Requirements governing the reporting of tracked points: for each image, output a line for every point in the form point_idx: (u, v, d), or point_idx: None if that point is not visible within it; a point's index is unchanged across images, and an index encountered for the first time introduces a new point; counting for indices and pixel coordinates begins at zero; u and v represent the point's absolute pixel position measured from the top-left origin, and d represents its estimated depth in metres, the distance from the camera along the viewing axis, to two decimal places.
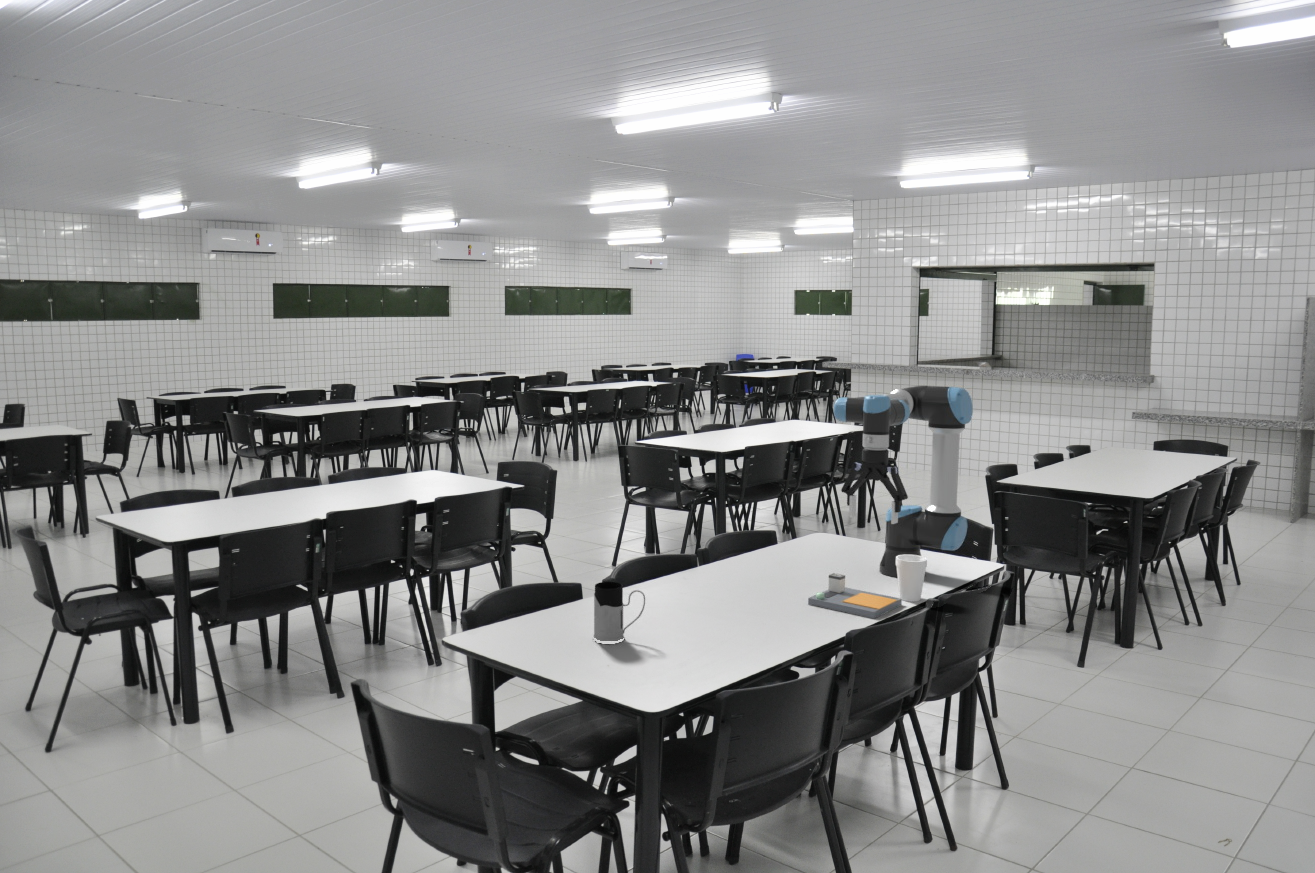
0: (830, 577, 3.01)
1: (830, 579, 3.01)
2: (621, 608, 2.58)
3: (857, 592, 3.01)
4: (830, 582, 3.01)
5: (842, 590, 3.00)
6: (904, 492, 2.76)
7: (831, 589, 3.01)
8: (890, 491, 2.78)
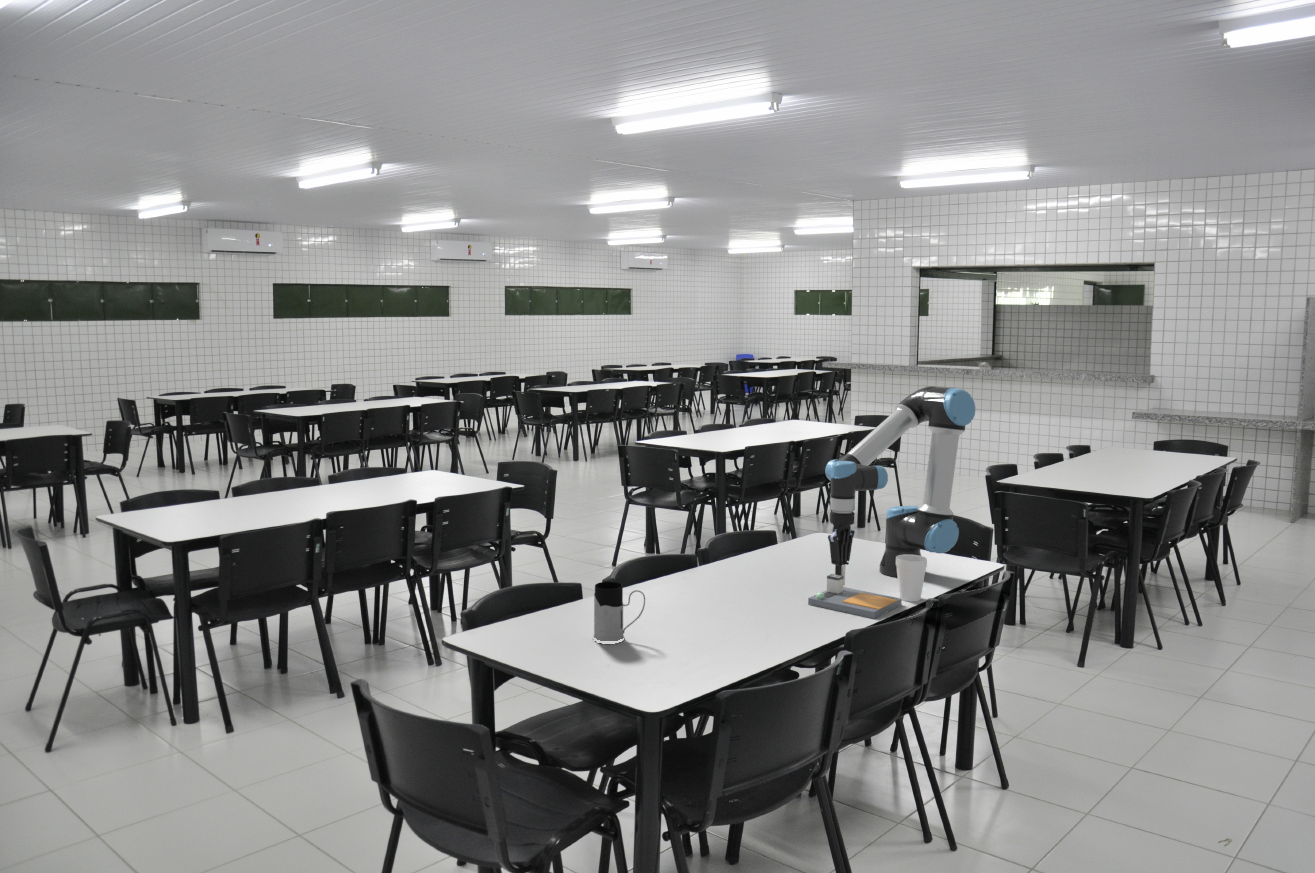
0: (828, 578, 3.00)
1: (828, 580, 3.00)
2: (621, 608, 2.58)
3: (857, 592, 3.01)
4: (828, 583, 3.00)
5: (840, 591, 2.99)
6: (835, 559, 2.99)
7: (829, 590, 3.00)
8: None
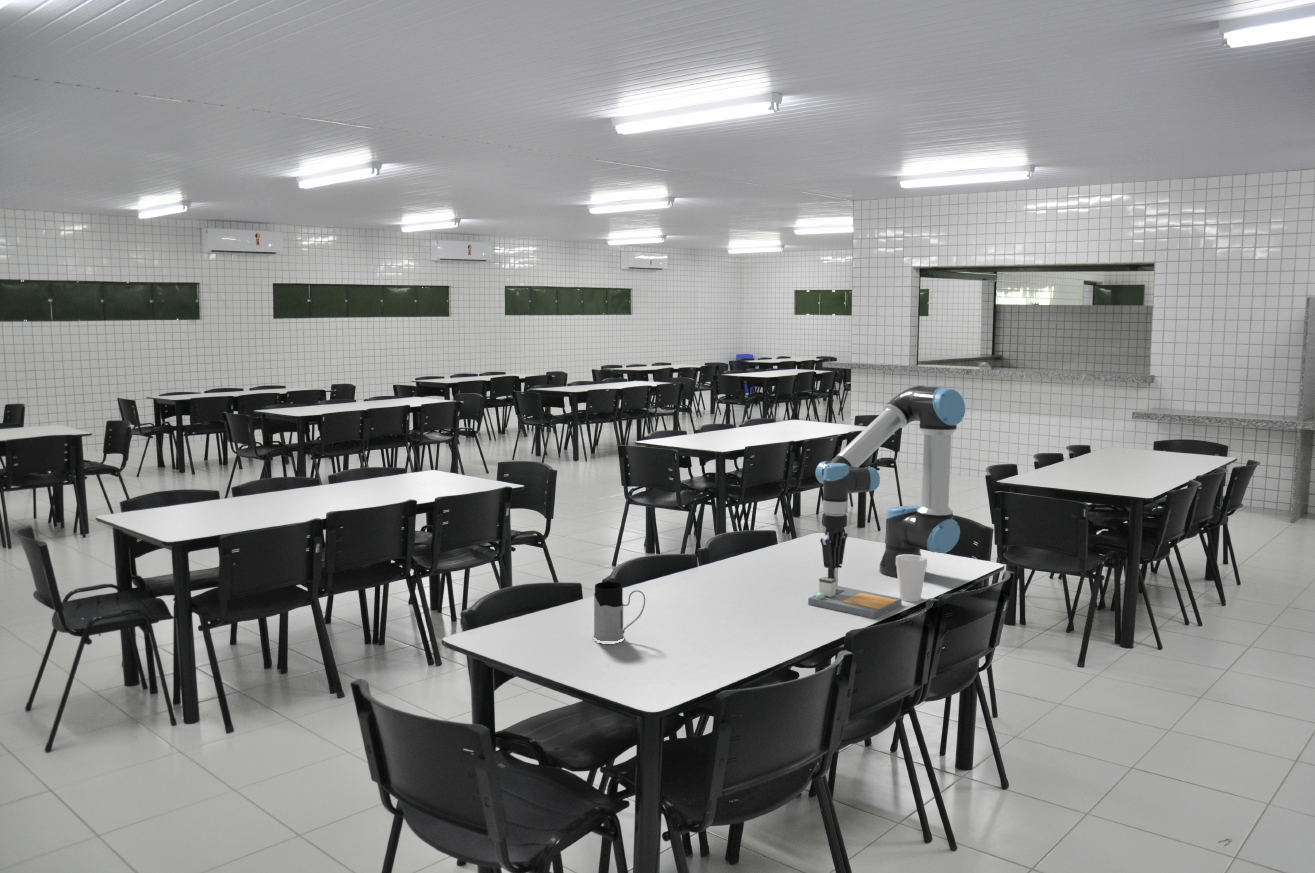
0: (820, 581, 2.96)
1: (820, 583, 2.96)
2: (621, 608, 2.58)
3: (857, 592, 3.01)
4: (820, 586, 2.96)
5: (833, 594, 2.96)
6: (827, 562, 2.95)
7: None
8: None
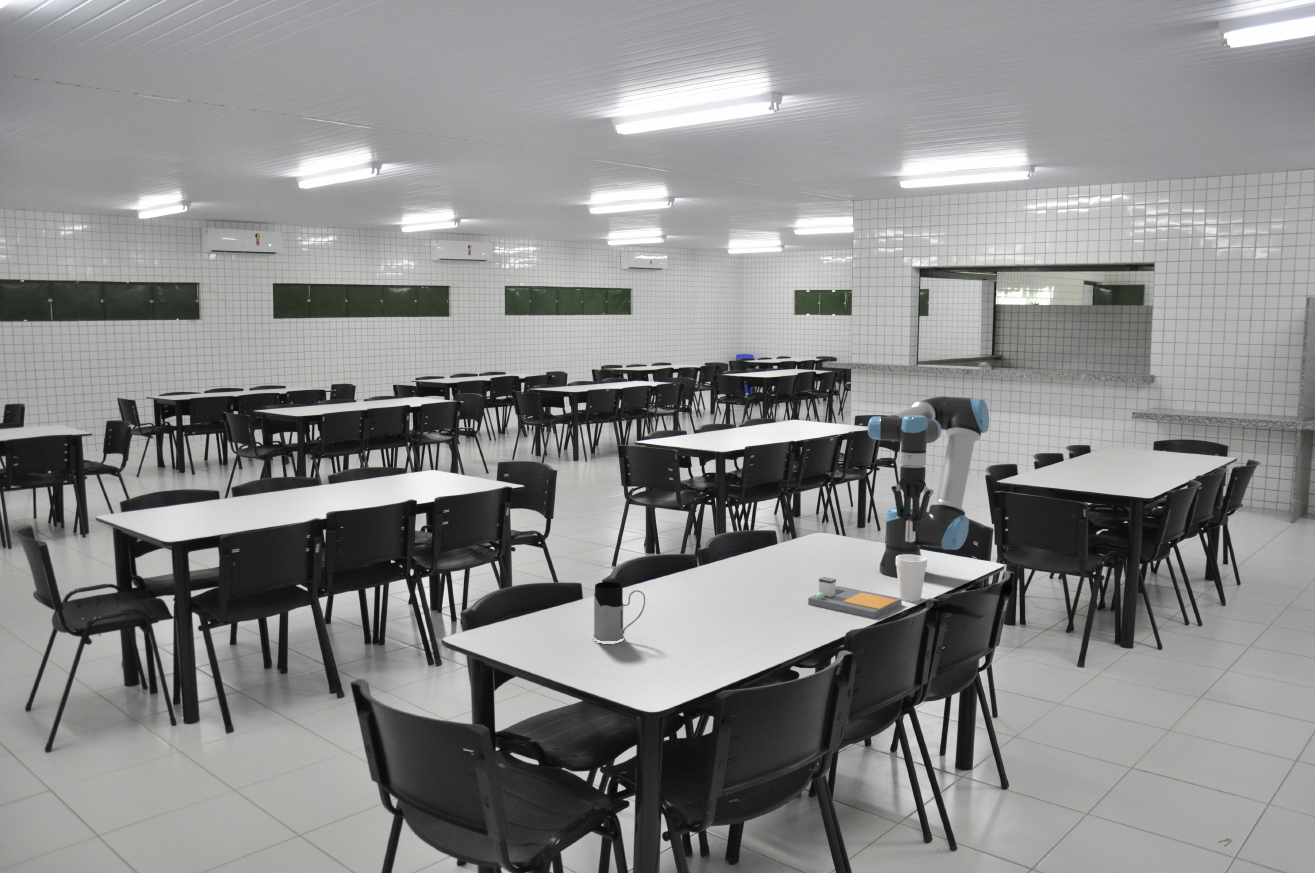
0: (820, 581, 2.96)
1: (820, 583, 2.96)
2: (621, 608, 2.58)
3: (857, 592, 3.01)
4: (820, 586, 2.96)
5: (833, 594, 2.96)
6: (924, 514, 2.95)
7: None
8: (913, 510, 2.96)
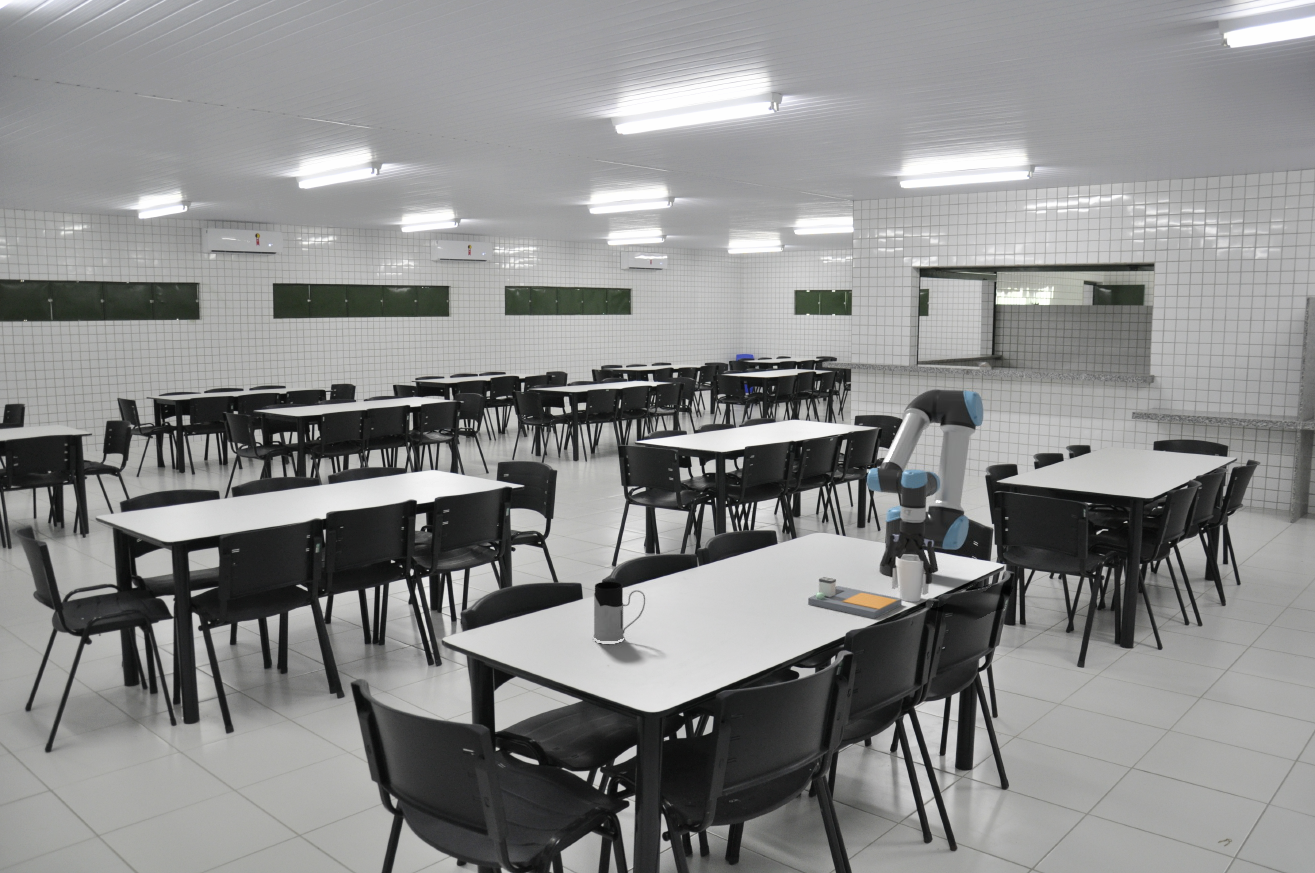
0: (820, 581, 2.96)
1: (820, 583, 2.96)
2: (621, 608, 2.58)
3: (857, 592, 3.01)
4: (820, 586, 2.96)
5: (833, 594, 2.96)
6: (935, 565, 2.95)
7: None
8: (923, 563, 2.96)
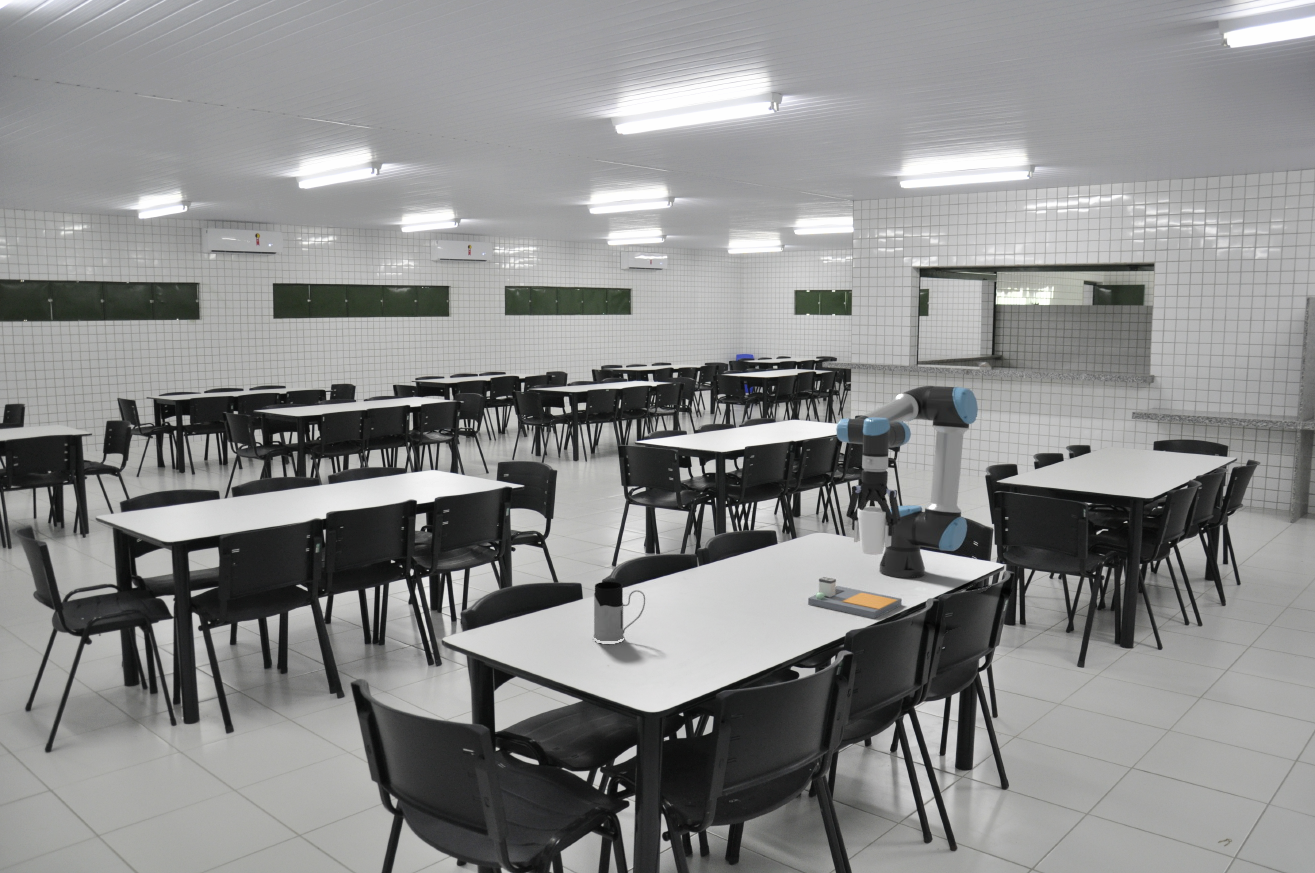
0: (820, 581, 2.96)
1: (820, 583, 2.96)
2: (621, 608, 2.58)
3: (857, 592, 3.01)
4: (820, 586, 2.96)
5: (833, 594, 2.96)
6: (898, 516, 2.83)
7: None
8: None
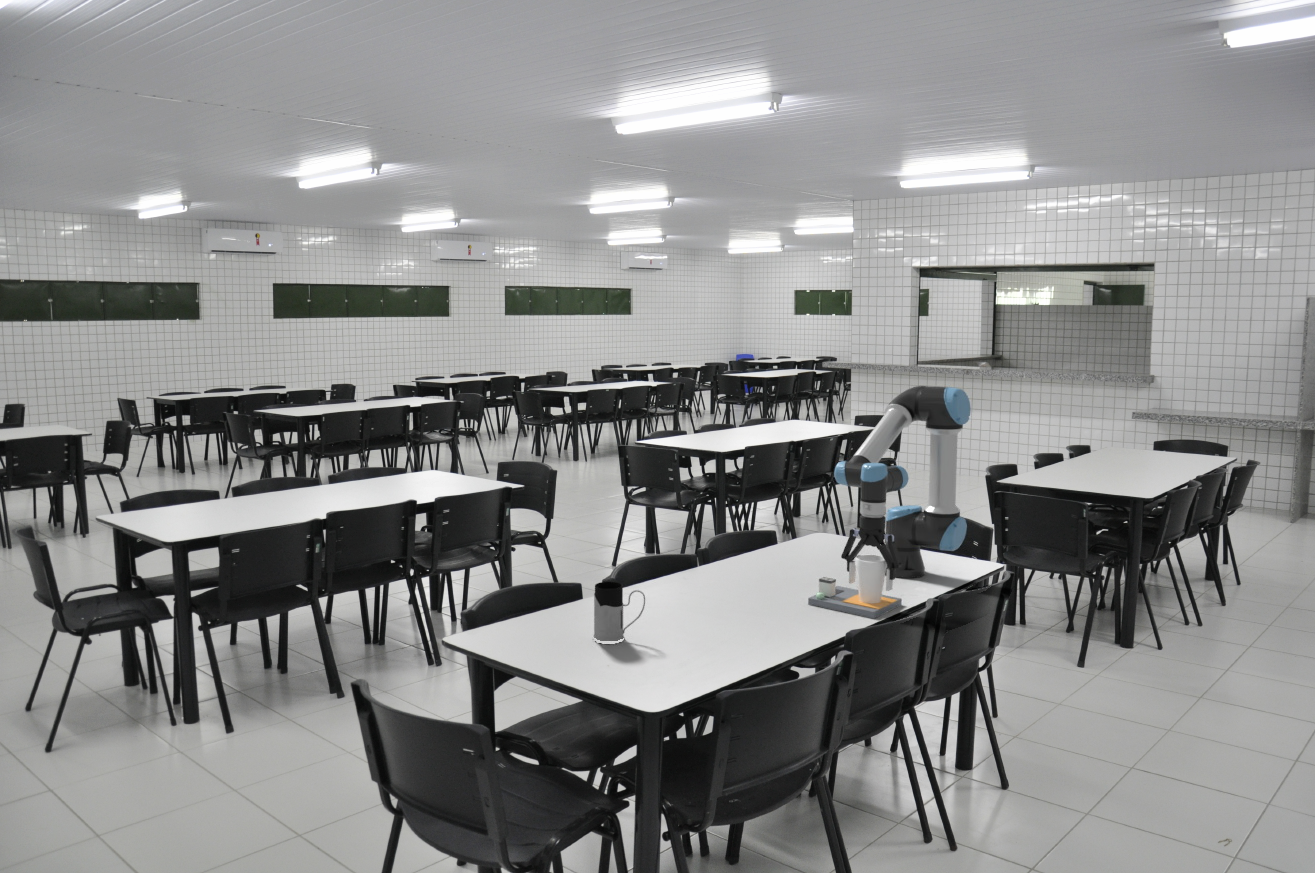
0: (820, 581, 2.96)
1: (820, 583, 2.96)
2: (621, 608, 2.58)
3: (857, 592, 3.01)
4: (820, 586, 2.96)
5: (833, 594, 2.96)
6: (899, 560, 2.84)
7: None
8: (885, 558, 2.85)
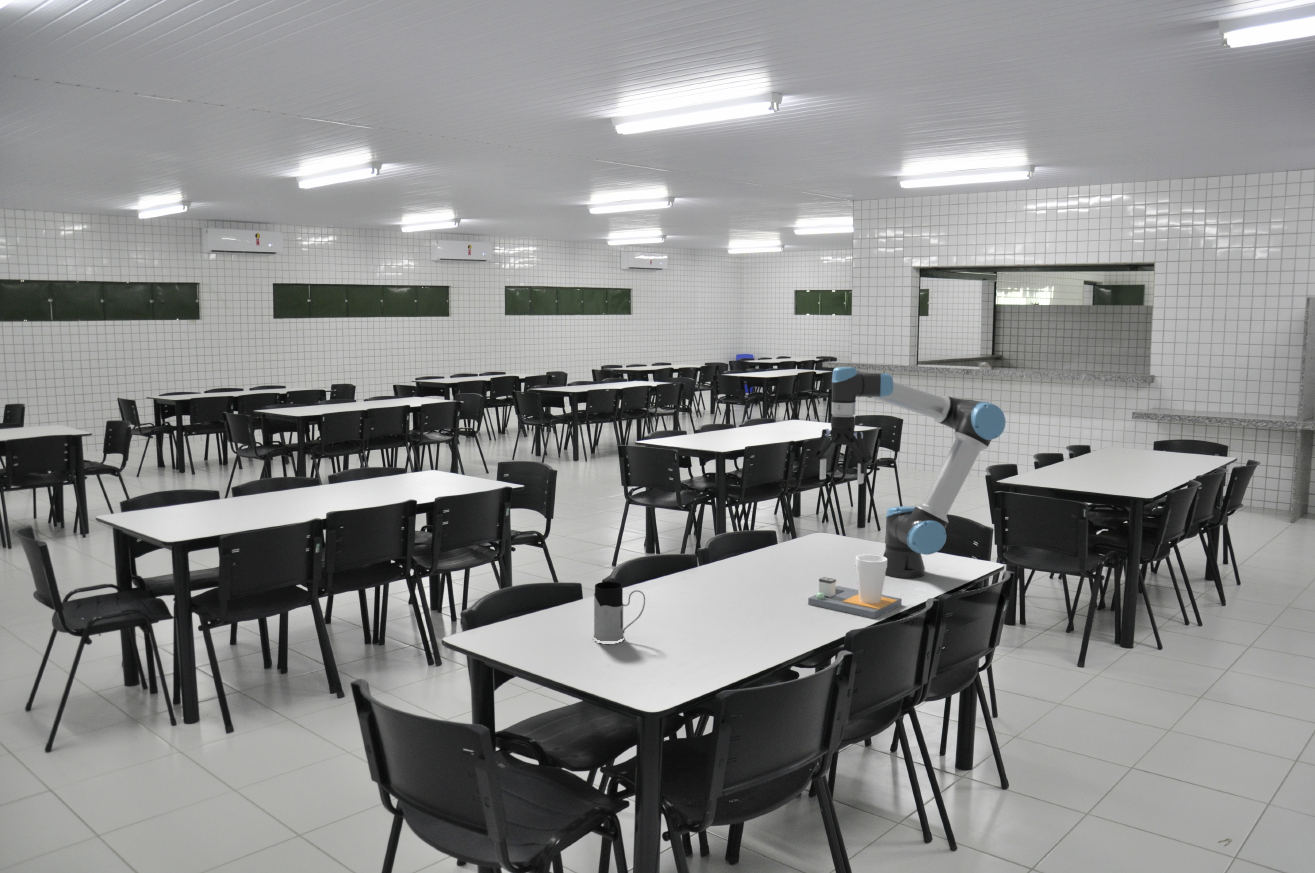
0: (820, 581, 2.96)
1: (820, 583, 2.96)
2: (621, 608, 2.58)
3: (857, 592, 3.01)
4: (820, 586, 2.96)
5: (833, 594, 2.96)
6: (869, 455, 3.04)
7: None
8: (856, 454, 3.05)
